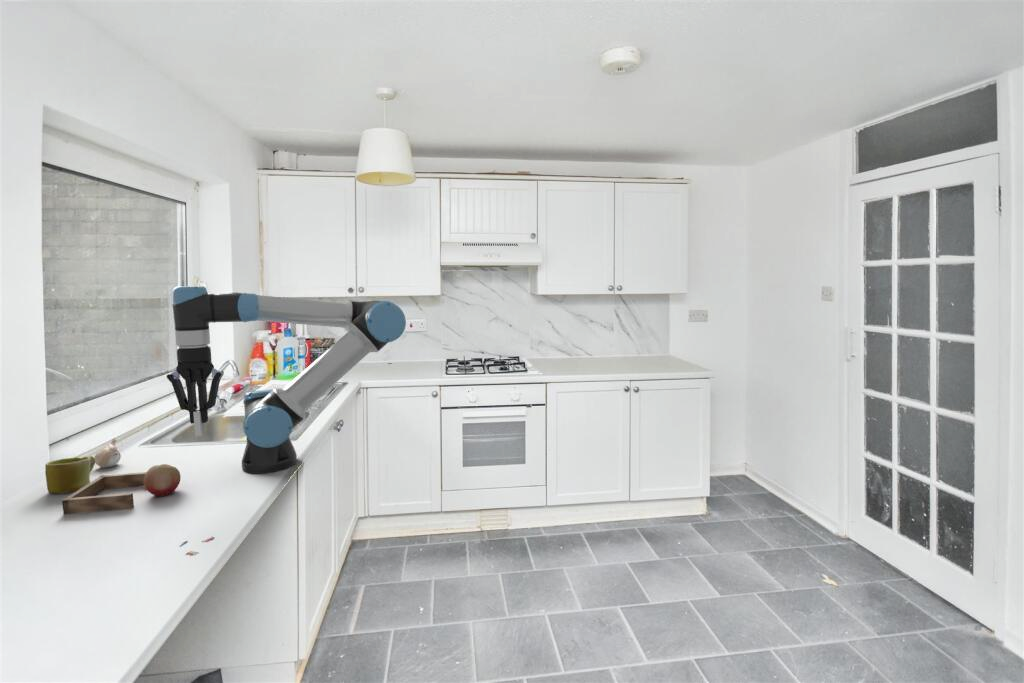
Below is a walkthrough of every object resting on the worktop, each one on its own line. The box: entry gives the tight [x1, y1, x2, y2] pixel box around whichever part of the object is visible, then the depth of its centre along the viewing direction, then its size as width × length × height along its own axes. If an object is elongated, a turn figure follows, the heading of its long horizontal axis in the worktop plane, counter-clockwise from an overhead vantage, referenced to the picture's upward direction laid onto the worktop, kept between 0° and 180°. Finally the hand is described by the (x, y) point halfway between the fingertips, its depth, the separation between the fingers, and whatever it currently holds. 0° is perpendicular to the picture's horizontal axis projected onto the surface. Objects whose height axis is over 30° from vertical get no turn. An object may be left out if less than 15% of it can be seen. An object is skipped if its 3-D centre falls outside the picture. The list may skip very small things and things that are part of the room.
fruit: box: [143, 463, 182, 497], centre depth 134 cm, size 8×8×8 cm
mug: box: [44, 455, 96, 495], centre depth 138 cm, size 12×10×10 cm
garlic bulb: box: [93, 437, 122, 469], centre depth 154 cm, size 7×6×8 cm
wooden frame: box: [61, 471, 147, 515], centre depth 132 cm, size 14×16×4 cm
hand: (200, 434), depth 134 cm, fingers closed
